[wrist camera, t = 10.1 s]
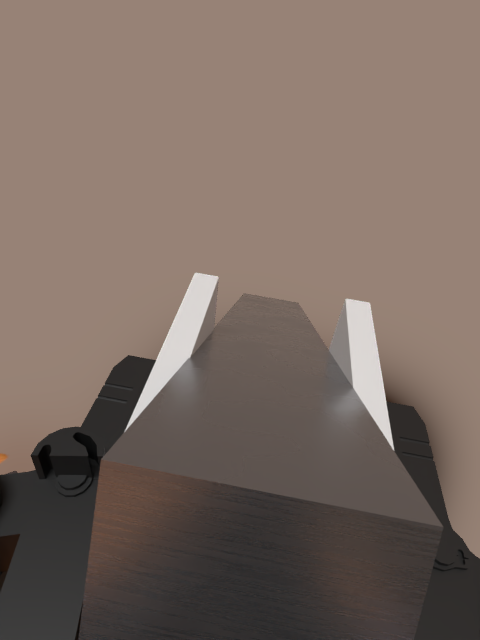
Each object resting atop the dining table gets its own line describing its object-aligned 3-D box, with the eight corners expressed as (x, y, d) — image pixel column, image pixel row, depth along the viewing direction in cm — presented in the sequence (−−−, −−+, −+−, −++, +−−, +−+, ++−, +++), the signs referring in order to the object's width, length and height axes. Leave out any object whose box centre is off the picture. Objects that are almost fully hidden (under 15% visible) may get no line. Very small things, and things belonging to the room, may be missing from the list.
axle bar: (368, 810, 5) (443, 527, 5) (66, 740, 6) (101, 459, 5) (288, 355, 31) (298, 302, 30) (235, 346, 31) (243, 293, 31)
